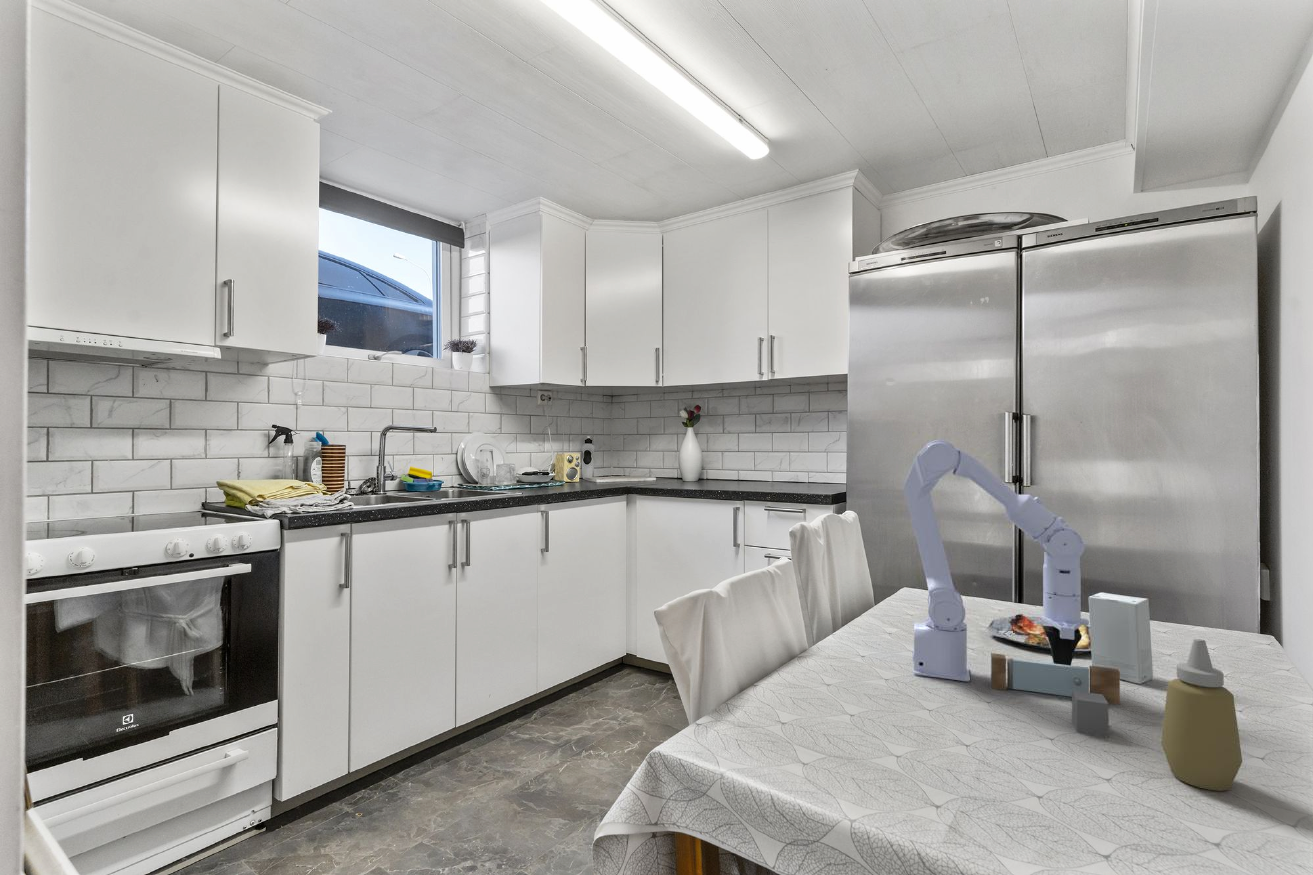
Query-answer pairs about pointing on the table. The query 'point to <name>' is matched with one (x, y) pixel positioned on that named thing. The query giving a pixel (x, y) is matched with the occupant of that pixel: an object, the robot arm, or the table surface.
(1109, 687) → the door frame
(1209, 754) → the squeeze bottle
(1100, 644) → the skincare box
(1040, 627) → the food plate
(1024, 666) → the door
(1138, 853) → the table surface
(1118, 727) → the table surface
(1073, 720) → the block
